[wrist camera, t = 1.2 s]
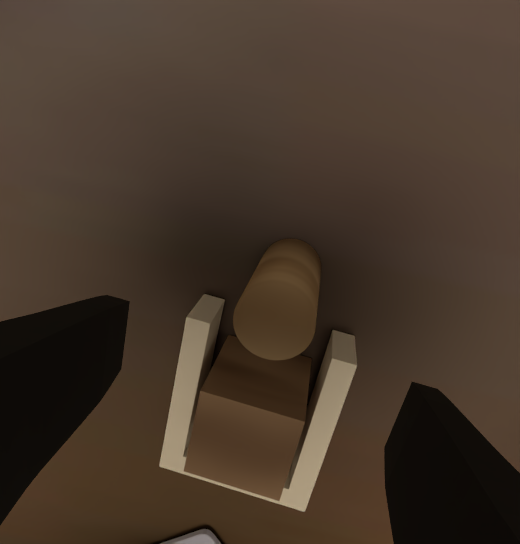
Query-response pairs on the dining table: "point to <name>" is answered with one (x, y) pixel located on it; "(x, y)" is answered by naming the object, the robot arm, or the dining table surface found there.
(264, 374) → the tan rounded-end part
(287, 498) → the small tray
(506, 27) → the dining table surface
